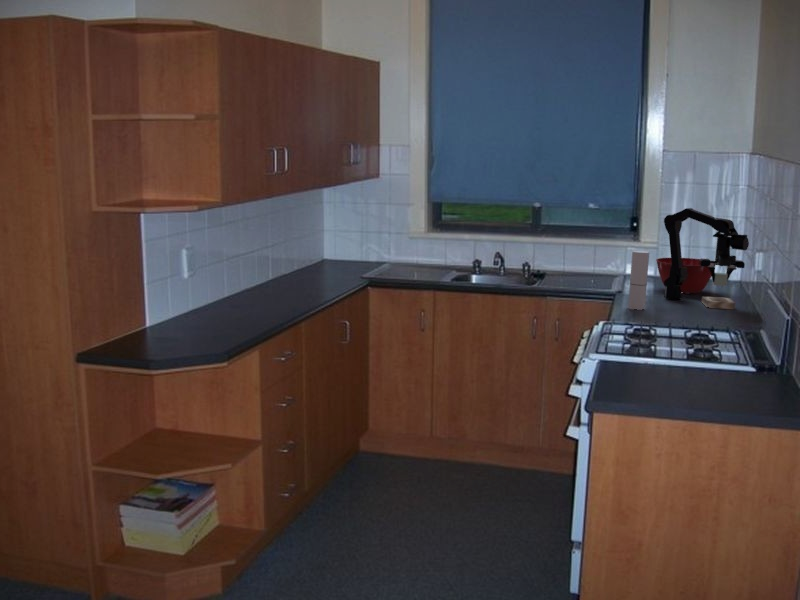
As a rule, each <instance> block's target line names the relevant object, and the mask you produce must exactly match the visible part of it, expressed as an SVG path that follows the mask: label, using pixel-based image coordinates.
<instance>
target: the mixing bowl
mask: <svg viewBox="0 0 800 600" xmlns="http://www.w3.org/2000/svg"><path fill="white" fill-rule="evenodd" d="M700 259H701V258H691V257H682V264H683V266H684V267H687V274H688V276H687V279H686V280H685V282H683V284H682V286H680V287H681V288H680V289H681V290H682V291H681V292H683V293H696V294H698V293H699V292H702V291H703V290H704V289H705V288H706V287H707V285H708V283H709V281H710V280H711V279H712V276H711V273H710V270H709V268H707V267H706V266H700V265H699V260H700ZM655 262H656V265H657V269H658V273H659V277H660V279H661V282H662V283H663V285H664V281H665V280H666V279H667V278H669V271H670V268H671V257H660V258H656V260H655ZM714 267H715V268H716V265H714ZM664 287H665V288H666V286H664ZM697 292H698V293H697Z"/></svg>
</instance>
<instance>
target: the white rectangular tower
mask: <svg viewBox="0 0 800 600" xmlns="http://www.w3.org/2000/svg"><path fill="white" fill-rule="evenodd" d="M649 262H650V251H646V250H632V252H631V262H630V263H631V264H630V265H631V266H630V277H629V279H630V280H629V291H628V292H629V293H628V300H627V301H628V302H627V308H628V309H630V310H634V309H637V310H636V311H641V310H642V309H644V310H645V309H646V297H647V285H648V273H649V271H648V270H649ZM642 311H643V310H642Z"/></svg>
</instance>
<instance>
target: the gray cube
mask: <svg viewBox="0 0 800 600" xmlns="http://www.w3.org/2000/svg"><path fill="white" fill-rule="evenodd" d="M727 276H728V275H727V274H726V273H725V272H715V280H714V282H713V281H712V284H713V286H723V287H727V286H728V285H727V284H728V281H727Z"/></svg>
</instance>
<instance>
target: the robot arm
mask: <svg viewBox="0 0 800 600" xmlns="http://www.w3.org/2000/svg"><path fill="white" fill-rule="evenodd" d="M688 219H692V220H694V221H698V222H700V223H702V224H704V225H707V226H709V227H711V228H712V229H714V230H715V231H716V232H715V233H714V234H713V235H712V237H713V238H717V239H716V248H715V257H714V260H711V259H710V258H703V257H702V258H699V259H700V260H699V265H700V266H706V267H707V268H709V270H710V273H711V279H712V283H713V282H714V280H715V273H716V271H715V270H716V266H719V267H726V274H727V275H728V276H727V282H728V281H729V278H730V276H731V275H732V273H733V271H736V270H737V269H745V266H746V264H745V262H744V261H743V260H739V259H737V257H736V255H733V254H732V255H731V249H732V250H741V251H747V250H748V249H749V246H750V245H749V244H750V242H749V238H748V234H739V232H738V231H737V229H736V227H735V224H734V222H733V220H732V219H727V218H721V217H715V216H712V215H709V214H706V213H704V212H701V211H698V210H696V209H694V208H692V207H689V208H684V209H682V210H681V211H677V212H676V213H673V214H667V215H666V216H665V217H664V218H663V223H664V227H665V228H664V229H665V230H666V231H667V234H668V239H669V240H668V241H669V250H670V251H669V252H670V258H671V268H670V271H669V278H667V279H666V280H665V281H664V284H663V286H664V287H665V286H666V287H665V290H664V291H665V292H664V296H663V298H664V297H665V298H666V299H665V298H664V299H665V300H671V299H680V300H681V299H682V294H681V291H682V290H681V289H680V288H681V287H680V286H682V284H683V282H685V280H686V279H687V276H688V274H687V267H684V266H683V264H682V258H683V257H682V246H681V245H682V244H681V236H680V234H681V229H682V227H683V225H682V223H683V222H685V221H686V220H688ZM714 265H715V267H714Z"/></svg>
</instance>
